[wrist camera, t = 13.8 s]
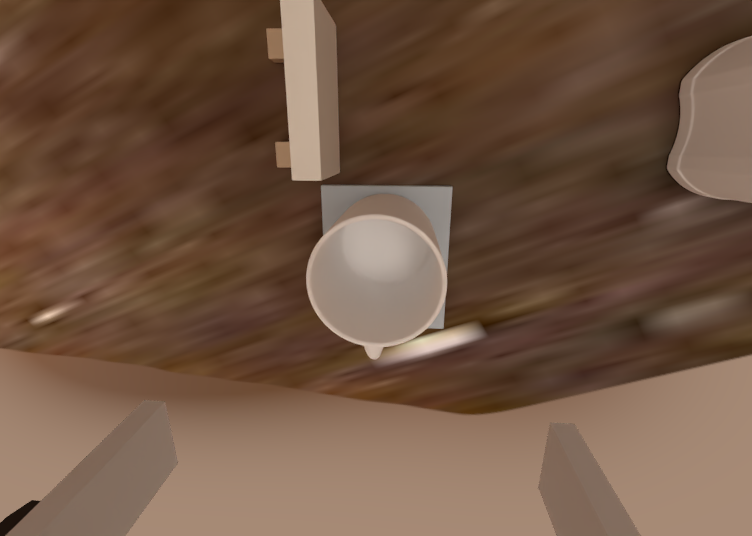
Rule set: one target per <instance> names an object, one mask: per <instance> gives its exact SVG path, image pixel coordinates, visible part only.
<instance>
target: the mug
mask: <svg viewBox="0 0 752 536" xmlns="http://www.w3.org/2000/svg"><path fill="white" fill-rule="evenodd" d="M306 286H307V291H308V296H309V299H310V302H311V304H312V306H313V308H314V310H315V312H316V314H317V315H318V317H319V318H320V319H321V320H322V322H323V323H324V324H325V325H326V326H327V327H328V328H329V329H330V330H332V331H333V332H334V333H336V334H337V335H338V336H340V337H342V338H344V339H346V340H348V341H350V342H353V343H356V344H359V345H363V346H364V348H365V351H366V353H367V355H368V356H369V357H370V358H371V359H377V358H379V356H380V355H381V352H382V349H383V347H388V346H393V345H398V344H401V343H404V342H407V341H409V340H411V339H413V338H415V337H416V336H418V335H419V334H421V333H422V332H423V331H424V330H426V329H427V328H428V327H429V326H430V325H431V324H432V323H433V321H434V320H435V319H436V317H437V316H438V314H439V312H440V310H441V308H442V306H443V303H444V301H445V297H446V292H447V273H446V268H445V264H444V261H443V257H442V254H441V251H440V248H439V245H438V241H437V238H436V235H435V232H434V229H433V226H432V224H431V222H430V220H429V218H428V217H427V215H426V214H425V213H424V211H423V210H422V209H421V208H420V207H419V206H417V205H416V204H415V203H414V202H412V201H410V200H408V199H406V198H404V197H402V196H398V195H394V194H375V195H371V196H368V197H365V198H363V199H361V200H359V201H357V202H356V203H354V204H353V205H352V206H351V207H349V208H348V209H347V210H346V211H345V212H344V214H343V215H342V216H341V217H340V218H339V219H338V220H337V221H336V222H335V223H334V224H333V225H332V227H331V228H330V229H329V230H328V231H327V232H326V233H325V234H324V235H323V236H322V237H321V239H320V240H319V241H318V243H317V244H316V246H315V247H314V249H313V251H312V253H311V256H310V258H309V261H308V266H307V272H306Z"/></svg>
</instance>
